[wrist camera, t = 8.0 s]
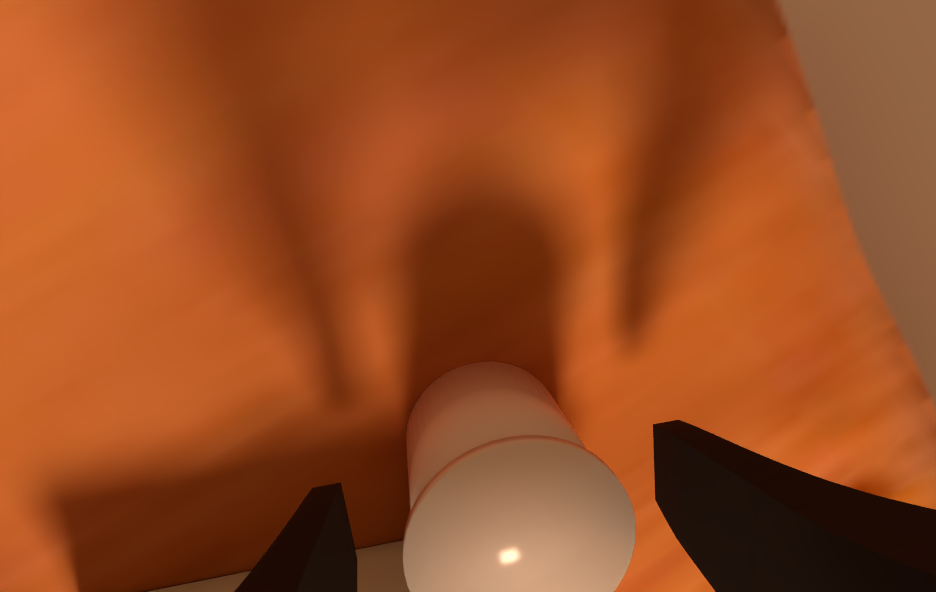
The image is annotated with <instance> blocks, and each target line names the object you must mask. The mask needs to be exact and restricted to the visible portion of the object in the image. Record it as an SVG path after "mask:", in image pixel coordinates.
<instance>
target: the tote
mask: <svg viewBox="0 0 936 592" xmlns="http://www.w3.org/2000/svg"><path fill="white" fill-rule="evenodd" d="M355 551H356V555H357V592H410V590H409V588H408V585H407V582H406V578H405V575H404V566H403V540H402V541H397V542H392V543H387V544H382V545H377V546H372V547H367V548H362V549H357V550H355ZM250 572H251V571H248V572H243V573H238V574H233V575H228V576H223V577H218V578H213V579H208V580H203V581H198V582H193V583H188V584H183V585H178V586H173V587H168V588H163V589H158V590H153V591H148V592H234V591H235V590H236V589H237V588H238V586H239V585H240V584H241V583H242V582H243V580H244V579H245V578H246V577H247V575H248V574H249V573H250Z"/></svg>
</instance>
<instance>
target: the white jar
mask: <svg viewBox="0 0 936 592" xmlns="http://www.w3.org/2000/svg"><path fill="white" fill-rule="evenodd" d="M406 447H407V463H408V479H409V494H410V510H411V511H410V513H409V516H408V519H407V522H406V526H405V531H404V536H403V566H404V575H405V578H406V582H407V585H408V588H409V590H410V592H614V591H615V589H616V588H617V586H618V585H619V583H620V582H621V580H622V578H623V577H624V575H625V572H626V570H627V568H628V566H629V564H630V561H631V557H632V554H633V551H634V545H635V539H636V523H635V515H634V511H633V507H632V504H631V501H630V499H629V496H628V494H627V492H626V490H625V488H624V487H623V486H622V484H621V483H620V481H619V480H618V478H617V477H616V475H615V474H614V472H613V471H612V470H611V469H610V468H609V466H608V465H607V464H606V463H605V462H604V461H603V460H602V459H600V458H599V457H598V456H596V455H595V454H594V453H593V452H591V451H589V450H587V449H586V448H585V446H584V445H583V443H582V442H581V440H580V439H579V437H578V435H577V434H576V432H575V431H574V429H573V428H572V426H571V425H570V423H569V422H568V420H567V419H566V417H565V416H564V414H563V413H562V411H561V409H560V408H559V406H558V405H557V403H556V402H555V400H554V399H553V397H552V396H551V394H550V393H549V391H548V390H547V388H546V387H545V386H544V385H543V384H542V383H541V382H540V380H538V379H537V378H536V377H535V376H533V375H532V374H531V373H529V372H527V371H526V370H524V369H522V368H519V367H517V366H514V365H511V364H507V363H502V362H489V361H484V362H475V363H471V364H466V365H463V366H460V367H457V368H455V369H453V370H451V371H449V372H447V373H445V374H443V375H442V376H440V377H439V378H438V379H436V380H435V381H434V382H433V383H431V384H430V385H429V386H428V387H427V388H426V389H425V391H424V392H423V393H422V394H421V395H420V397H419V398H418V400H417V401H416V403H415V405H414V407H413V409H412V411H411V414H410V417H409V419H408V424H407V429H406Z"/></svg>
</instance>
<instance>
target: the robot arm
mask: <svg viewBox="0 0 936 592" xmlns="http://www.w3.org/2000/svg"><path fill="white" fill-rule="evenodd" d="M653 438H654V470H655V500H656V502H657V504H658V506H659V507H660V509H661V511H662V513H663V515H664V517H665V519H666V521H667V522H668V524H669V526H670V528H671V529H672V531H673V533H674V534H675V536H676V538H677V539H678V541H679V542H680V544H681V545H682V547H683V548H684V549H685V551H686V552H687V553H688V555H689V556H690V558H691V559H692V560H693V562H694V563H695V564H696V566H697V567H698V568H699V570H700V571H701V573H702V574H703V575H704V577H705V578H706V579H707V581H708V582H709V583H710V585H711V586H712V587H713V589H714V590H715V591H716V592H936V510H934V509H930V508H925V507H921V506H917V505H913V504H909V503H905V502H900V501H896V500H892V499H888V498H884V497H881V496H877V495H873V494H870V493H866V492H863V491H859V490H856V489H853V488H850V487H847V486H843V485H840V484H837V483H834V482H830V481H827V480H825V479H822V478H819V477H816V476H813V475H810V474H808V473H805V472H802V471H800V470H797V469H794V468H792V467H789V466H787V465H784V464H781V463H779V462H776V461H774V460H772V459H769V458H767V457H764V456H762V455H760V454H757V453H755V452H753V451H750V450H748V449H746V448H743V447H741V446H739V445H737V444H734V443H732V442H730V441H728V440H725V439H723V438H721V437H719V436H716V435H714V434H712V433H710V432H707V431H705V430H703V429H700V428H698V427H696V426H693V425H691V424H688V423H686V422H683V421H680V420H675V421H669V422H664V423H658V424H653ZM234 592H357V555H356V551H355V546H354V542H353V537H352V532H351V528H350V523H349V519H348V514H347V509H346V505H345V500H344V496H343V491H342V486H341V483H336V484H331V485H326V486H320V487H315V488H312V490H311V491H310V492H309V493H308V495H307V496H306V498H305V499H304V500H303V502H302V503H301V505H300V506H299V508H298V509H297V510H296V512H295V513H294V515H293V516H292V518H291V519H290V520H289V522H288V523H287V525H286V526H285V527H284V529H283V530H282V532H281V533H280V534H279V536H278V537H277V538H276V540H275V541H274V542H273V544H272V545H271V546H270V548H269V549H268V550H267V552H266V553H265V554H264V556H263V557H262V558H261V560H260V561H259V562H258V563H257V565H256V566H255V567H254V568H253V569H252V571H251V572H250V573H249V574H248V575H247V577H246V578H245V579H244V580H243V582H242V583H241V584H240V585H239V586H238V588H237V589H236V590H235V591H234Z"/></svg>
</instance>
